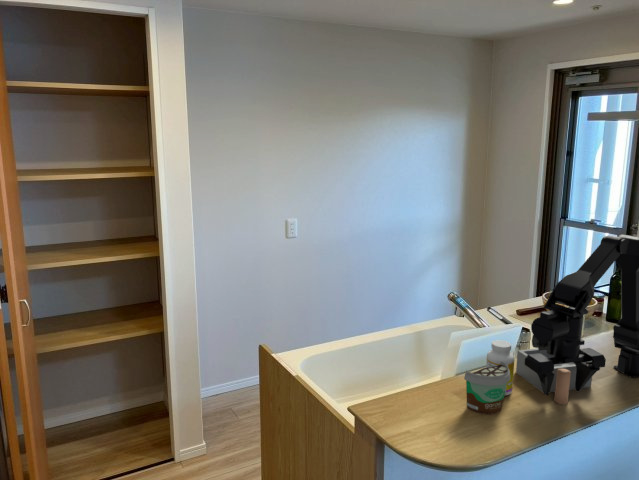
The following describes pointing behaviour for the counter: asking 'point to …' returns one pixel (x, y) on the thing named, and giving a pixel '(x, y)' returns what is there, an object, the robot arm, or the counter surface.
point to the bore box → (533, 376)
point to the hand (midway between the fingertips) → (561, 392)
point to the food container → (487, 389)
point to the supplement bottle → (502, 359)
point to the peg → (562, 386)
